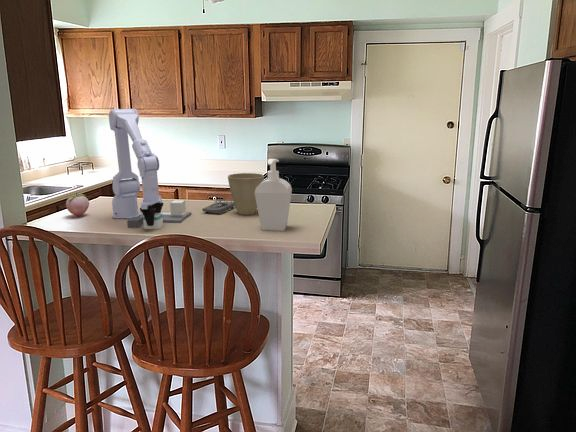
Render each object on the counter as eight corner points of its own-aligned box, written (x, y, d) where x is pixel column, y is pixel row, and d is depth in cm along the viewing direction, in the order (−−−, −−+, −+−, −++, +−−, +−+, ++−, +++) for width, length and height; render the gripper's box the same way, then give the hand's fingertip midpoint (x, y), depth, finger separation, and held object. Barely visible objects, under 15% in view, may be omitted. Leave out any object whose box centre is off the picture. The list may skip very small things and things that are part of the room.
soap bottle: (254, 231, 173) (252, 160, 167) (260, 224, 183) (258, 157, 176) (288, 232, 171) (287, 160, 165) (292, 225, 181) (291, 157, 174)
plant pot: (248, 218, 192) (247, 179, 188) (222, 214, 200) (220, 176, 197) (271, 211, 203) (271, 174, 199) (245, 207, 212) (244, 171, 208)
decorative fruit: (76, 213, 206) (73, 190, 203) (93, 214, 204) (91, 191, 202) (62, 218, 197) (59, 194, 194) (80, 219, 195) (77, 195, 193)
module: (143, 228, 179) (142, 216, 178) (149, 225, 184) (148, 212, 183) (158, 229, 179) (157, 216, 177) (163, 225, 183) (162, 213, 182)
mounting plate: (136, 222, 189) (134, 204, 188) (150, 213, 203) (148, 197, 201) (180, 222, 187) (179, 205, 185) (191, 214, 201) (190, 198, 199)
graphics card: (215, 198, 217) (239, 199, 213) (216, 206, 218) (239, 207, 214) (195, 206, 202) (220, 208, 198) (196, 215, 203) (221, 217, 198)
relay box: (127, 228, 181) (127, 220, 181) (133, 224, 187) (132, 216, 187) (138, 228, 181) (137, 220, 181) (143, 224, 187) (143, 216, 186)
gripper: (153, 192, 170) (156, 228, 173) (167, 184, 184) (170, 219, 187) (134, 192, 171) (137, 228, 174) (150, 184, 185) (153, 218, 188)
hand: (153, 223), depth 181 cm, fingers closed on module, 5 cm apart
